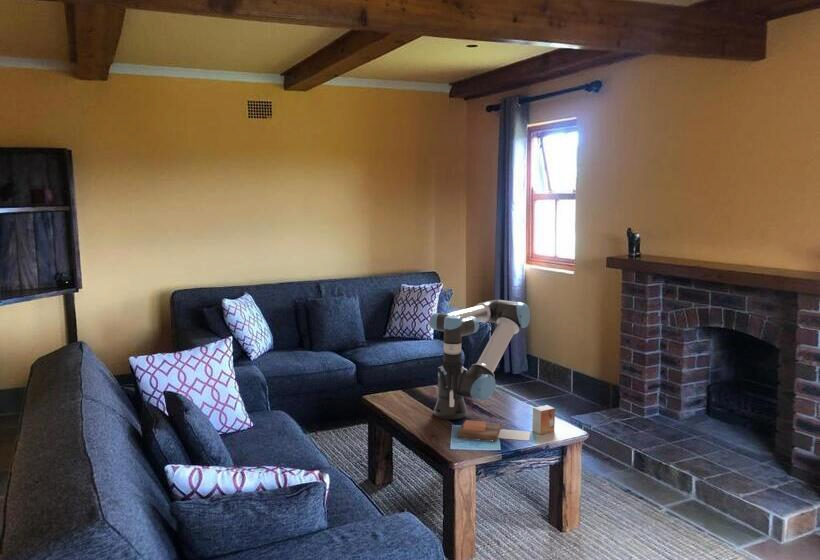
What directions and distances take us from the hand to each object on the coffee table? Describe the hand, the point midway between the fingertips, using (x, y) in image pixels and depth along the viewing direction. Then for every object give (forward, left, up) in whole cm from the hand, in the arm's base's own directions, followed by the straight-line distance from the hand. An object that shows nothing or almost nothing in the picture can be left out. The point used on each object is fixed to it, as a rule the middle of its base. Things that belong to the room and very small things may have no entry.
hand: (451, 406), depth 284 cm
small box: (-10, +38, -12) cm, 41 cm away
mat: (-2, +27, -11) cm, 29 cm away
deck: (0, +12, -11) cm, 17 cm away
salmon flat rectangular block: (0, +10, -9) cm, 13 cm away
